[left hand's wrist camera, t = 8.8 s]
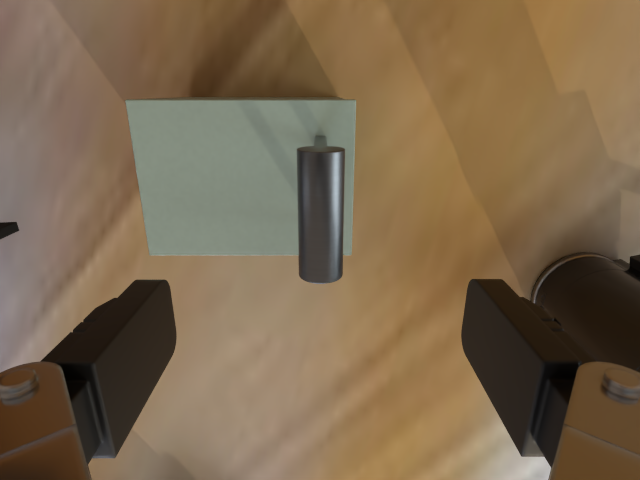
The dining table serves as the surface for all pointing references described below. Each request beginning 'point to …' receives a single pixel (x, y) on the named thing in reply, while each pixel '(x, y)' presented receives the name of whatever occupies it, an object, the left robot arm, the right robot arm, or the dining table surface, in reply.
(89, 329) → the left robot arm
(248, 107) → the lid
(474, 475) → the dining table surface
